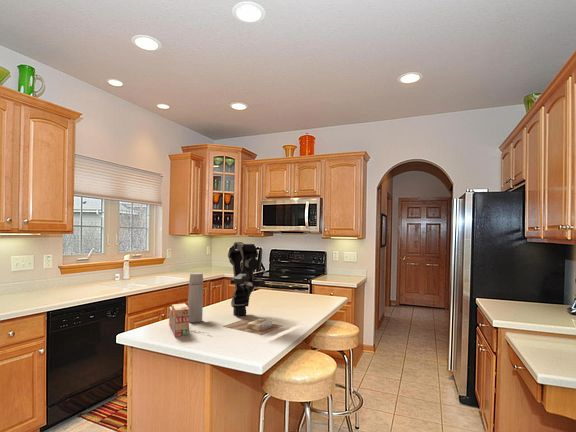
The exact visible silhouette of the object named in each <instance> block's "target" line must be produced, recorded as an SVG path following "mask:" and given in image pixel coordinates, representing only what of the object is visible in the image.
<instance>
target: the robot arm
mask: <svg viewBox="0 0 576 432" xmlns="http://www.w3.org/2000/svg"><path fill="white" fill-rule="evenodd" d="M258 257H259V252H258V249H257V246H256V245H255V244H254V243H244V242H242V241H235V242H234V243H233V245H232V246H231V247H229V249H228V252H227V258H228V260H229V263H230V264H231V265H232V269H233V271H232V272H233V277H232V278H231V279H230V284H231V285H234V288H235V290H234V292H233V294H232V298H231V301H230V306H231V307H232V308H233V312H232V313H233V316H235V317H246V316H247V307H249V303H250V297H251V294H252V292H253V290H254V289H255V287H257V288H258V287H259V288H261V287H264V286H266V281H265V280H264V279H256V278H255V277H254V273H255V272H256V270H258V269H259V267H260V261H259V260H258V259H257V258H258ZM241 263H242V264H241Z"/></svg>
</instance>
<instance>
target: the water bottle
mask: <svg viewBox="0 0 576 432" xmlns="http://www.w3.org/2000/svg"><path fill="white" fill-rule="evenodd" d="M187 284H188V294H187V295H188V296H187V304H186V305H187V306H188V308H189V309H190V312H189V323H194V324H197V323H201V322H202V321H203V311H204V310H203V309H204V308H203V306H204V305H203V303H204V301H203V300H204V274H203V272H191V273H190V274H189V282H187Z"/></svg>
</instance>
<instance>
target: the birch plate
mask: <svg viewBox="0 0 576 432" xmlns="http://www.w3.org/2000/svg"><path fill="white" fill-rule="evenodd" d="M267 320H268V319H265V318H264V319H262V318H259V319H255V321H252V322H249V323H247V329H252V330H256V331H260V330H261V322H264V321H267Z"/></svg>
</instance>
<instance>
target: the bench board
mask: <svg viewBox="0 0 576 432" xmlns="http://www.w3.org/2000/svg"><path fill="white" fill-rule="evenodd" d="M255 320H256V319H255ZM255 320H254V319H251V318H243V319H241V320H238V321H233V322H232V323H228V324H225V325H222V328H226V329H233V330H235V331H241V332H247V333H251V334H254V335H260V336H263V335H266V334H268V333H271V332H273V331H275V330H277V329H280V328H282V327H284V325H281V324H277V323H272V328H269V329H267V330H264V331H262V330H260V331H256V330H252V329H247V323H249V322H252V321H255Z"/></svg>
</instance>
